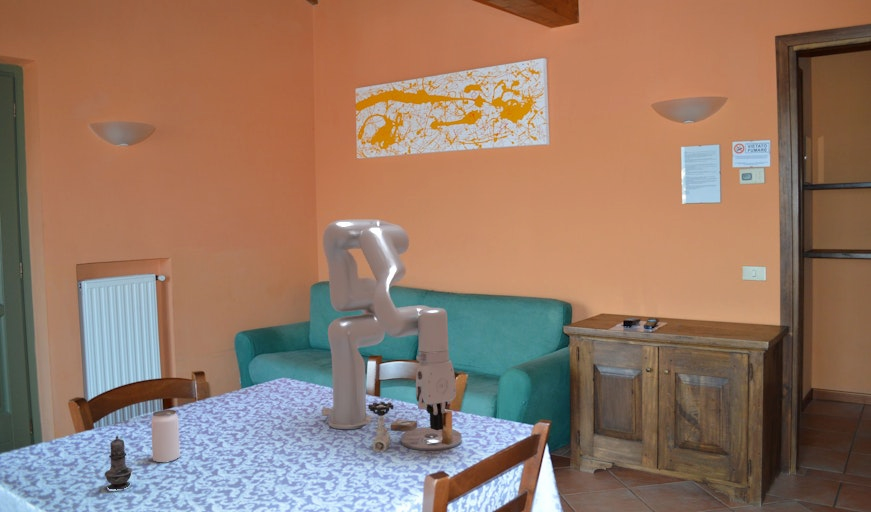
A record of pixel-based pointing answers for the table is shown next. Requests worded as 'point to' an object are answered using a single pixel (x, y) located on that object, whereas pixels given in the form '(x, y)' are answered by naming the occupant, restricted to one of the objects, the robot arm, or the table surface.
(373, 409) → the valve
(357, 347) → the robot arm
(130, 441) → the table surface
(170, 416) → the can
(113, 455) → the salt shaker
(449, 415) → the handwheel
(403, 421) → the dial pad
